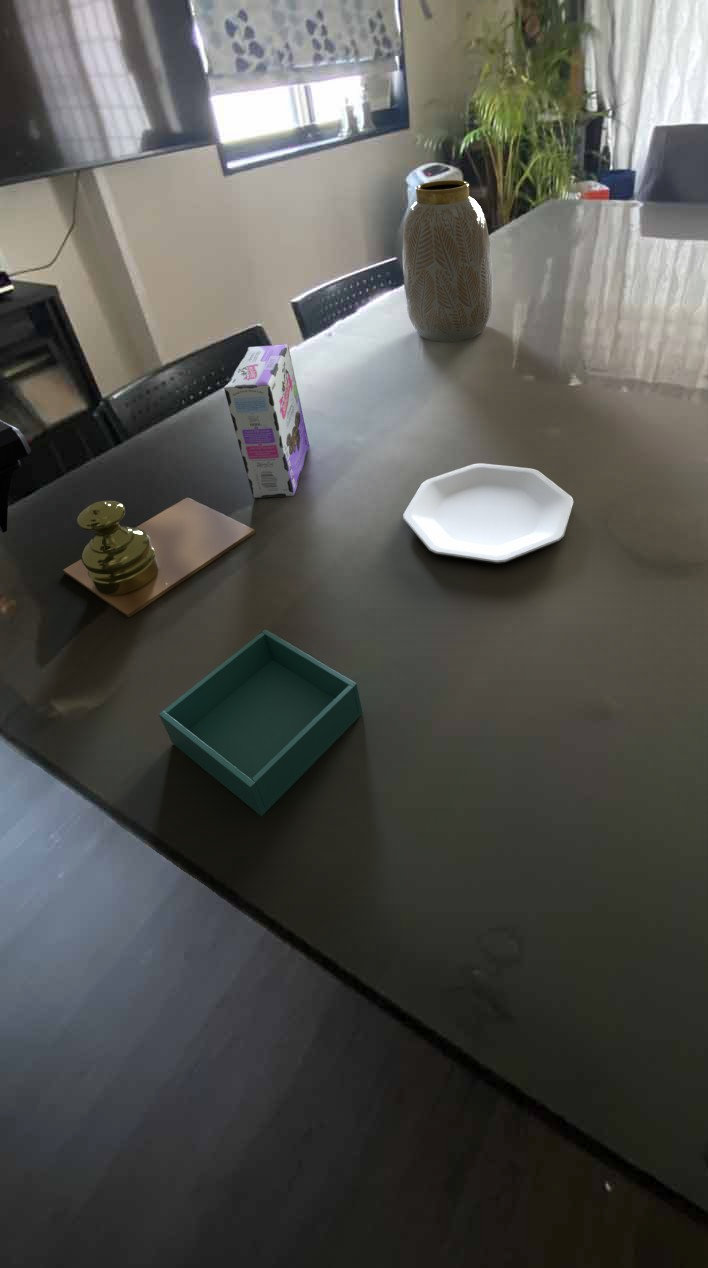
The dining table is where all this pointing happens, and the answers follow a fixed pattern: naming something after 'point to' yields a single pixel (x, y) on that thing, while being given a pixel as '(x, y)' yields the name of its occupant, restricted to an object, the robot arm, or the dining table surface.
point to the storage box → (262, 718)
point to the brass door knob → (116, 550)
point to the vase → (447, 263)
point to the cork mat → (174, 551)
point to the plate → (489, 513)
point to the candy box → (268, 420)
